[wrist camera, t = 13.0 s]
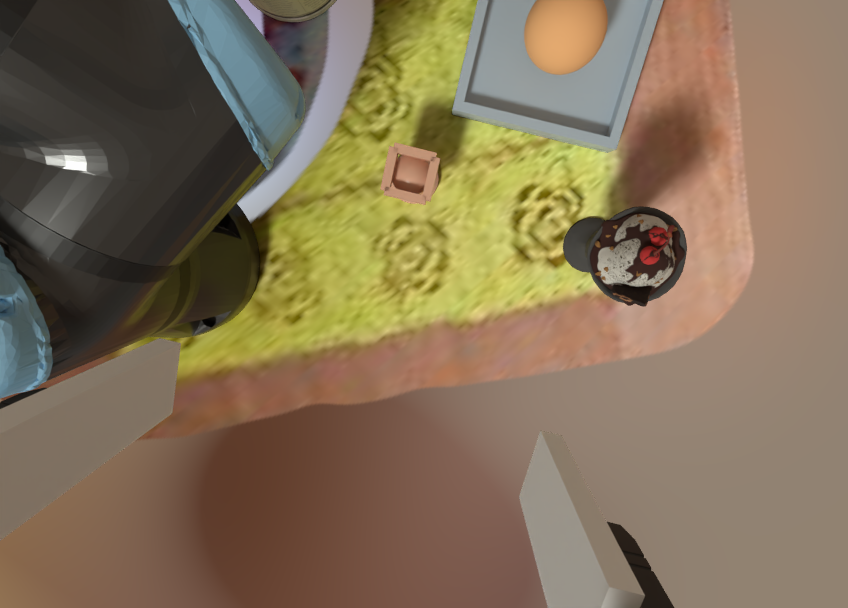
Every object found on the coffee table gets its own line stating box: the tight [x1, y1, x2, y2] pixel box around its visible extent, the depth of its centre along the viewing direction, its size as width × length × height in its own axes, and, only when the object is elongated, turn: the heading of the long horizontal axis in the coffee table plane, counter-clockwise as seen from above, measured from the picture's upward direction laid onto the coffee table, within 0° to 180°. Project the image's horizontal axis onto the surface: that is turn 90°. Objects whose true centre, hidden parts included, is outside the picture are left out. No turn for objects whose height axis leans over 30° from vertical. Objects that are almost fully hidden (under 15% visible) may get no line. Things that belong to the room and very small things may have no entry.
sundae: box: [563, 207, 687, 306], centre depth 33 cm, size 7×7×15 cm
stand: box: [380, 143, 440, 205], centre depth 37 cm, size 4×4×5 cm
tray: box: [452, 0, 663, 153], centre depth 36 cm, size 14×14×2 cm
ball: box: [524, 0, 608, 75], centre depth 33 cm, size 6×6×6 cm
